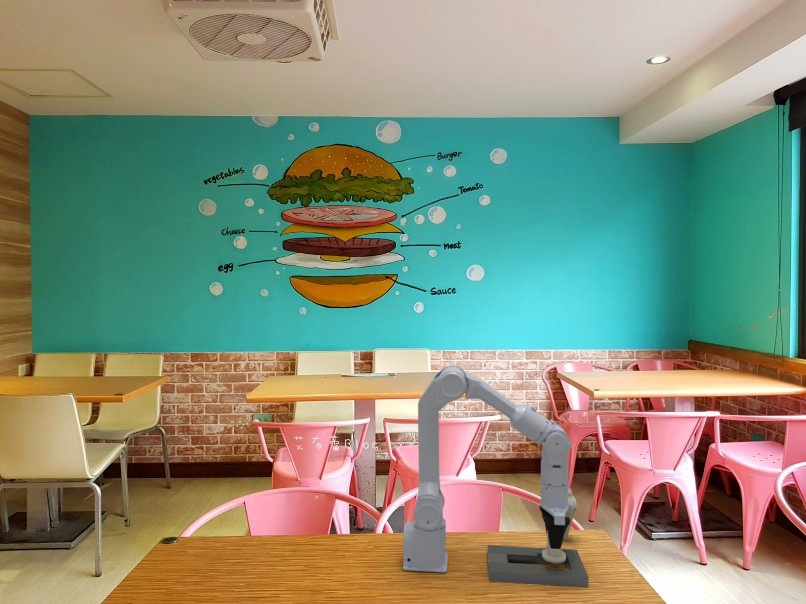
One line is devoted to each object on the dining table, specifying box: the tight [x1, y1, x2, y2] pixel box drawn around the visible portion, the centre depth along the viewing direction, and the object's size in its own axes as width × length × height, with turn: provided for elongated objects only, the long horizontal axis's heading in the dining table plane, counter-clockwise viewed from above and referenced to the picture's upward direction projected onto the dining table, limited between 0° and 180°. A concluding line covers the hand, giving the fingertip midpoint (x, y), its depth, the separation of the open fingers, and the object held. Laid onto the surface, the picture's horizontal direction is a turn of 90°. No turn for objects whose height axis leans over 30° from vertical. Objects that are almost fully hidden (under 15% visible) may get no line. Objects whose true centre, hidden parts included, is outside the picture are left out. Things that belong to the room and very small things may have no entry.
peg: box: [542, 531, 566, 563], centre depth 120 cm, size 5×5×8 cm
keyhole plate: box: [486, 544, 589, 588], centre depth 121 cm, size 20×12×2 cm, turn 83°
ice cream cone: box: [563, 484, 577, 542], centre depth 135 cm, size 5×5×15 cm
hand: (554, 544), depth 120 cm, fingers closed on peg, 3 cm apart
